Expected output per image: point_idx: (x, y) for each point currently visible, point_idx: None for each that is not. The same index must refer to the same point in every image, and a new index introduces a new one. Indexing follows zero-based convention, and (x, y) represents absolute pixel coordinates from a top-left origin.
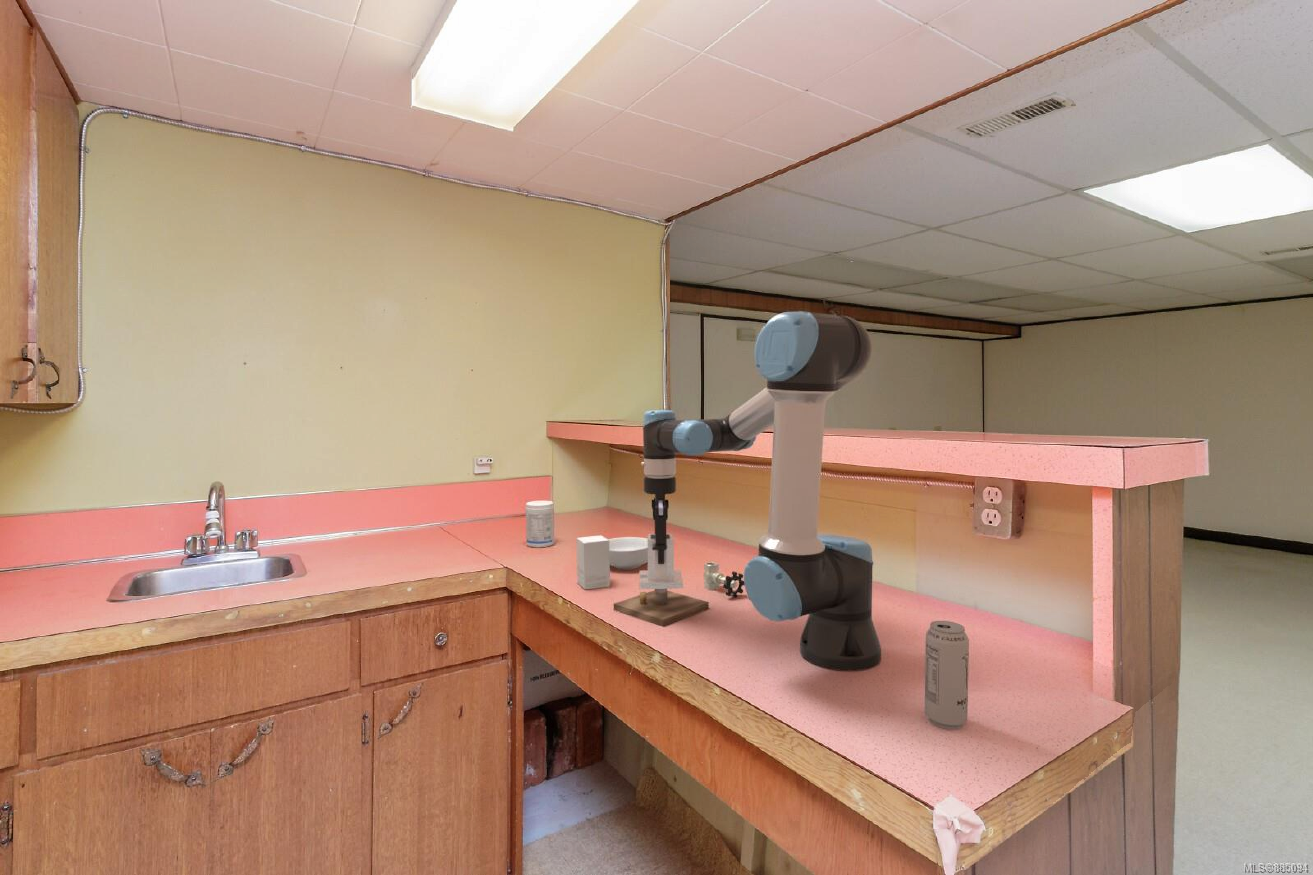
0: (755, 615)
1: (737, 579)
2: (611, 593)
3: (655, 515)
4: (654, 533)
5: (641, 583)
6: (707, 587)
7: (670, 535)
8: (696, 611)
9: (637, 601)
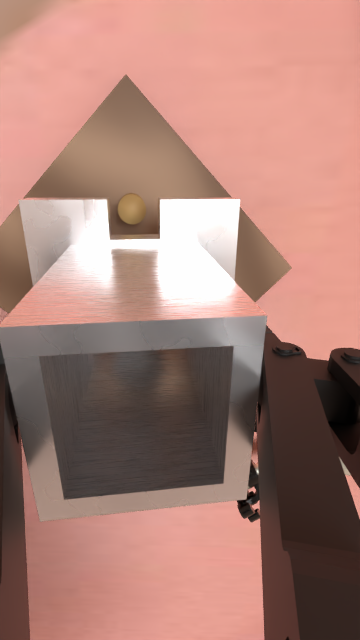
0: None
1: (251, 497)
2: (330, 67)
3: (283, 608)
4: (353, 361)
5: (21, 210)
6: None
7: (185, 493)
8: None
9: (152, 183)
